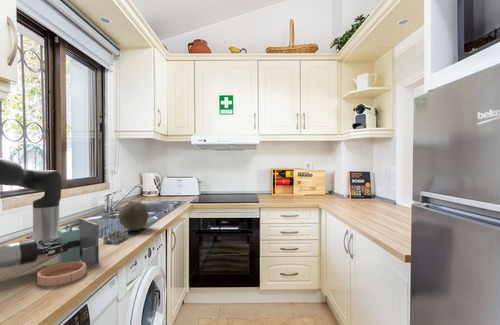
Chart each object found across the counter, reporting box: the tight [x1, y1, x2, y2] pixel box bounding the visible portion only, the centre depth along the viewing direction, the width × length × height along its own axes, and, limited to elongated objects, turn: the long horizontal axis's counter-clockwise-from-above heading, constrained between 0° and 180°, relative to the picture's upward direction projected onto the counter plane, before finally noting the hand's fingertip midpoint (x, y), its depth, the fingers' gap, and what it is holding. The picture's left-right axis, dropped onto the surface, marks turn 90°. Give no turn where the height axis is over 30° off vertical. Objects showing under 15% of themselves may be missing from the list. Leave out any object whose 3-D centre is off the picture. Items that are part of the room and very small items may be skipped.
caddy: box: [57, 224, 81, 264], centre depth 95 cm, size 6×5×14 cm
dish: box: [36, 261, 87, 287], centre depth 83 cm, size 13×13×2 cm
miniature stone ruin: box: [101, 230, 129, 245], centre depth 121 cm, size 11×8×4 cm
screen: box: [78, 217, 100, 267], centre depth 98 cm, size 5×17×14 cm, turn 51°
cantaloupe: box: [117, 202, 149, 231], centre depth 138 cm, size 14×14×15 cm
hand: (76, 241), depth 97 cm, fingers closed on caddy, 5 cm apart
